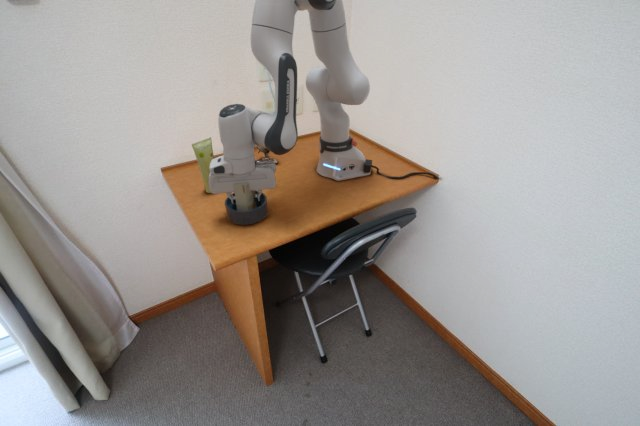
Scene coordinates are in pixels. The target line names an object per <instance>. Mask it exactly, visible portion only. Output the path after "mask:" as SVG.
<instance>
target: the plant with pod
mask: <svg viewBox="0 0 640 426" xmlns="http://www.w3.org/2000/svg"><path fill="white" fill-rule="evenodd" d="M256 148H257V149H258V152H257V154H260V153H263V154H264V156H263V157H262V158H261V159H258V160H257V161H266V160H270V161H272V162H274V163H275V164H279V161H277V159H276V158H275V157H273V156H270V155H269V154H270V152H271V151H269V150H268V149H266V148H264V147H262V146H259V145H257V146H256Z"/></svg>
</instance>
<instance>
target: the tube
mask: <svg viewBox="0 0 640 426" xmlns="http://www.w3.org/2000/svg"><path fill="white" fill-rule="evenodd" d="M191 147H192V149H193V152H194V155H195V158H196V161H197V164H198V167H199V171H200V174H201V175H200V176H201V178H202V182H203V186H204V190H205V192H206V193H207V194H212V193H211V192H210V190H209V174H210V169H209V166H210V162H211V160H212V159H214V158H215V156H214V151H213V150H214V149H213V142H212V137H208V138H205V139H202V140H200V141H197V142H194V143H191Z"/></svg>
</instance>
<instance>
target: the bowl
mask: <svg viewBox="0 0 640 426" xmlns="http://www.w3.org/2000/svg"><path fill="white" fill-rule="evenodd" d="M257 193H258V190H255V194H257ZM231 194H232V195H233V196H235V193H234V192H232V193H231ZM259 198H260V201H256V204H257V208H256V209H253V210H248V211H237V205H236V203H234V204H232V202H231V199H230V198H229V197H228V196H227V197H226V198H225V200H224V208H225V211H226V217H227V219H228V221H230V222H231V223H232V224H236V225H242V226H247V225H248V226H249V225H253V224H257V223H260V222H262V221H263V220H264V219H265V218H266V217H267V216H268V214H269V207H268V197H267V196H266V194H265V193H264V192H262V194H261V195H260V197H259Z"/></svg>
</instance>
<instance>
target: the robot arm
mask: <svg viewBox="0 0 640 426" xmlns="http://www.w3.org/2000/svg"><path fill="white" fill-rule="evenodd" d="M298 11H299V12H300V11H307V12H308V20H309V26H310V32H311V38H312V43H313V50H314V53H315V56H316V58H317V59H318V60H319V61H320V62H321V63H322V64H323V65H321V66H314V67H311V68H310V69H309V71H307V74H306V77H305V88H306V90H307V92H308V93H309V94H310V95H311V97H312V99H313V100H314V103H315V104H316V108H317V111H318V114H319V121H320V122H319V123H320V136H319V141H318V151H319V156H318V157H319V158H318V162H317V166H316V168H315V171H316V173H317V174H319V176H322V177H325V178H328V179H332V180H335V181H337V182H340V181H346V180H351V179H355V178H361V177H367V176H370V175H371V174H372V168H373V169H375V170H376V173H377V175H379V176H383V177H385V178H388V179H392V180H394V179H395V180H401V179H405V178H407V177H410V176H412V175H428V176H432V177H433V178H435V180H439V177H438V176H437V175H435V174H434V173H432V172H426V171H419V172H418V171H416V172H415V171H414V172H410V173H407V174H405V175H402V176H401V175H400V176H389V175H385V174H382V173H381V172H380V169H379V167H378V166H376V165H373V159H367V158H366V157H365V155H364V153H363V152H362V151H361V150H360V149H359V148H357V146H358V142H357V141H356V140H355V139H354V138H353V137H352V136H351V135H350V125H351V118H350V116H349V114H348V113H347V111H346V110H345V109H344V107H343V106H342V104H343V105H346V106H360V105H362V104H364V102H365V101H366V100H367V99H368V97H369V94H370V91H371V83H370V80H369V78H368V77H367V76H366V74H364V73H363V72H362V71H361V70H360V68H359V67H358V65H357V63H356V61H355V59H354V57H353V55H352V52H351V48H350V43H349V38H348V29H347V20H346V14H345V8H344V2H343V0H255V3H254V5H253V11H252V19H251V27H250V28H251V29H250V50H251V52H252V55H253V57H254V58H255V59H256V61H258V63H259V64H260V65H261V66H262V67H263V68H264V69H266V70H267V72H268V73H269V74H270V76H271V78H272V80H273V83H274V115H273V114H271V113H268V112H266V111H262V110H258V109H251V108H249V107H247V106H246V105H244V104H241V103H234V104H229V105H226V106H223V108H222V109H220V110H219V112H218V117H217V121H218V133H219V139H220V143H221V144H222V146H223V147H222V148H223V150H222V155H219V156H217V157H214V159H212V160H211V162H210V166H209V169H210V174H209V190H210V192H211V193H210V194H213V195H219V194H226V196H227V197H229V198H230V199H231V202H232V204H234V203H236V199H235V196H233V195H232V194H233V193H234V186H233V184H238V183H249V190H250V191H254V190H256V191H258V193H257V194H255V201H260V198H259V197H260V195H261V194H262V193H263V191H264V190H274V189H276V187H277V179H276V174H275V173H276V172H277V164H276V163H274V162H272V161H270V160H266V161H258V160H256V156H255V147H257V145H259V146H262V147H264V148H266V149H268V150H269V151H270V152H271V153H272V154H274V155H276V156H283V155H285V154H288V153H289V152H291V151H293V149H294V148H295V146H296V145H297V142H298V138H299V137H298V135H299V133H298V131H299V130H298V124H297V105H298V104H297V102H298V101H297V100H298V65H297V61H296V59H295V58H294V51H293V39H294V30H295V20H296V19H295V18H296V15H297V12H298Z"/></svg>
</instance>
